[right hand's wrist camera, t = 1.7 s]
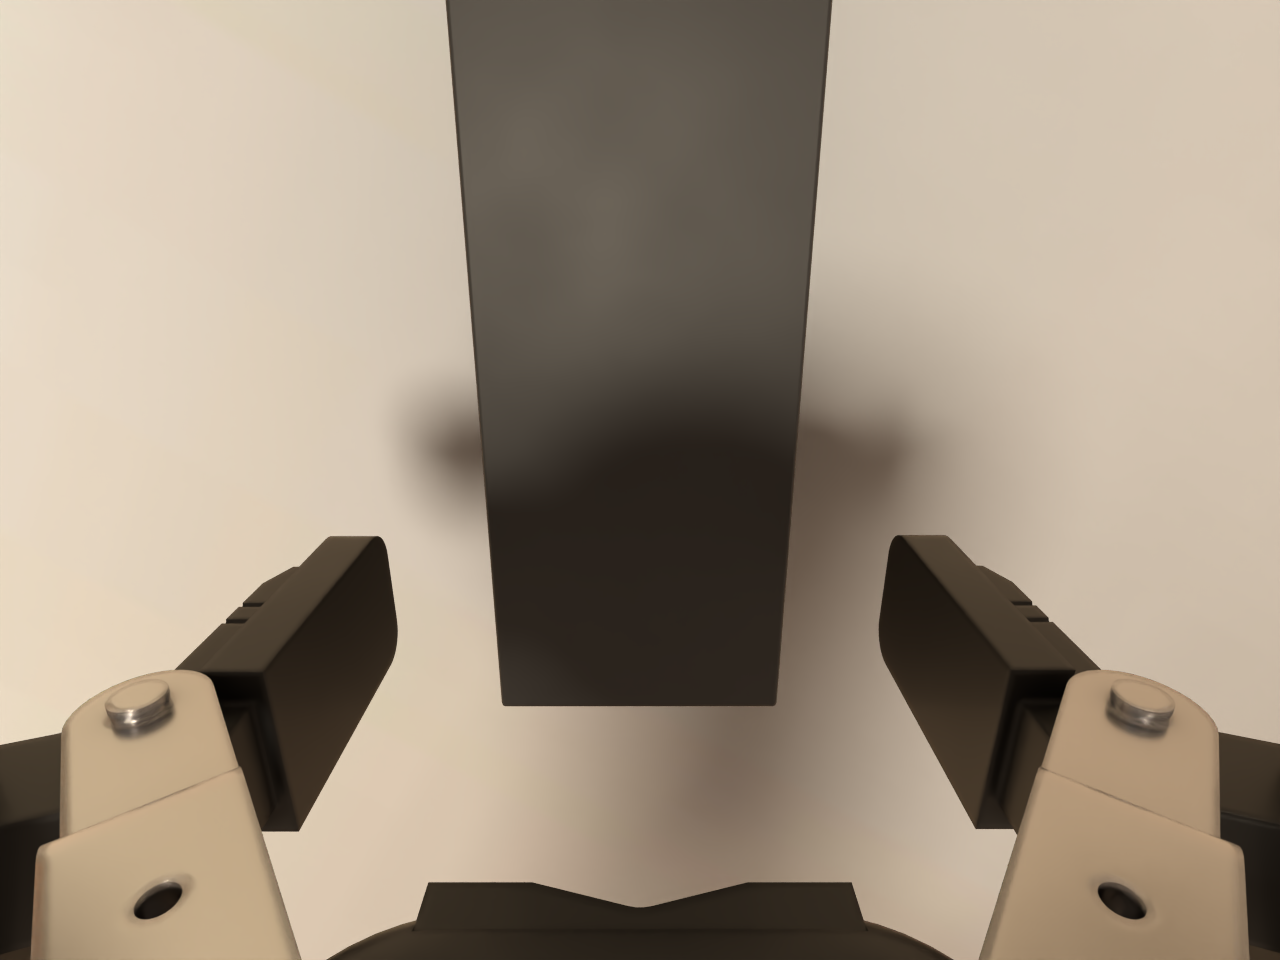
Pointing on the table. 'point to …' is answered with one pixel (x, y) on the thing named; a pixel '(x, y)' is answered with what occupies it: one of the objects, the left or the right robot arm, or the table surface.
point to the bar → (639, 332)
